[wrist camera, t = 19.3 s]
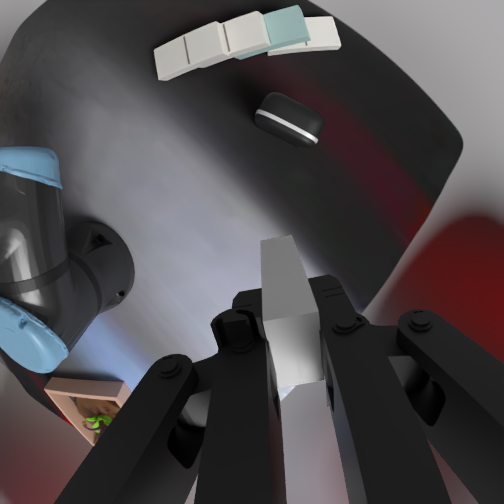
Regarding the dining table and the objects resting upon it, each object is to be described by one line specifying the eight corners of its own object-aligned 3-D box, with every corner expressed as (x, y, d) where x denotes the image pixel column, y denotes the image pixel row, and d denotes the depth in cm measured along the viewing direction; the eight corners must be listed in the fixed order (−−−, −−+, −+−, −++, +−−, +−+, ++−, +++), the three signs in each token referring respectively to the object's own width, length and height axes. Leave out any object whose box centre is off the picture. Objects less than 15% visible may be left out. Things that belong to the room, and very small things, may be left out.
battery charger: (312, 125, 35) (334, 117, 25) (299, 148, 36) (317, 149, 26) (266, 101, 34) (269, 83, 24) (253, 125, 35) (251, 116, 25)
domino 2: (195, 66, 31) (265, 42, 27) (189, 36, 29) (257, 10, 25) (203, 68, 32) (271, 46, 28) (197, 39, 31) (263, 15, 26)
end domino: (268, 51, 30) (341, 45, 29) (260, 21, 28) (332, 16, 27) (268, 55, 32) (337, 49, 31) (260, 26, 30) (329, 21, 29)
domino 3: (233, 57, 30) (307, 36, 26) (226, 27, 29) (297, 5, 24) (240, 59, 32) (311, 40, 27) (232, 30, 30) (301, 10, 26)
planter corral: (97, 433, 64) (92, 445, 60) (52, 376, 56) (43, 388, 51) (167, 442, 62) (164, 456, 57) (124, 381, 53) (116, 397, 49)
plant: (75, 408, 61) (60, 435, 50) (81, 376, 55) (62, 407, 44) (135, 440, 64) (125, 470, 54) (153, 415, 58) (142, 450, 47)
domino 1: (158, 79, 31) (222, 53, 27) (153, 49, 30) (215, 21, 26) (166, 80, 33) (229, 56, 29) (161, 51, 31) (222, 25, 27)
